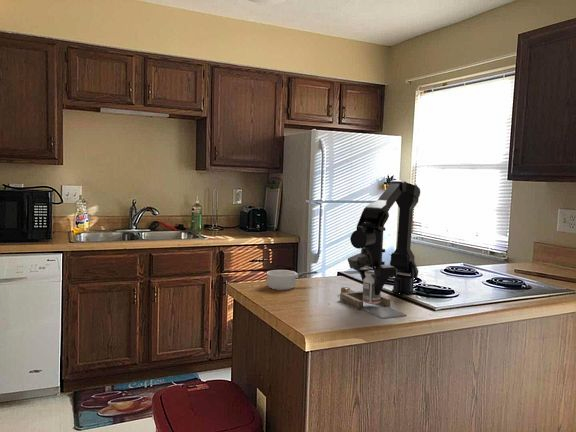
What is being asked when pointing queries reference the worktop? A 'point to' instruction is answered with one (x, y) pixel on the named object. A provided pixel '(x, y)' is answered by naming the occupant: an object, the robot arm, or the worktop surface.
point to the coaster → (386, 312)
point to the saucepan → (284, 279)
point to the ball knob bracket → (359, 298)
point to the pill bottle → (370, 289)
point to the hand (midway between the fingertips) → (371, 292)
